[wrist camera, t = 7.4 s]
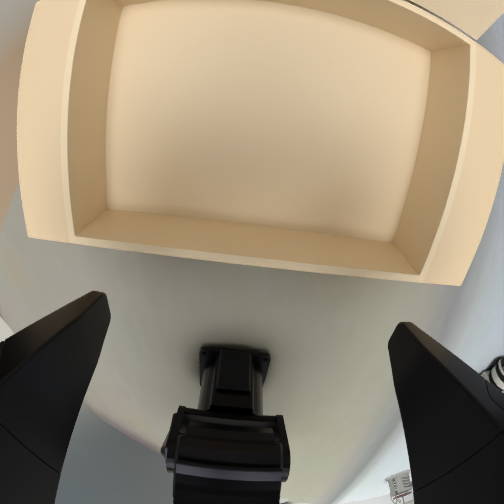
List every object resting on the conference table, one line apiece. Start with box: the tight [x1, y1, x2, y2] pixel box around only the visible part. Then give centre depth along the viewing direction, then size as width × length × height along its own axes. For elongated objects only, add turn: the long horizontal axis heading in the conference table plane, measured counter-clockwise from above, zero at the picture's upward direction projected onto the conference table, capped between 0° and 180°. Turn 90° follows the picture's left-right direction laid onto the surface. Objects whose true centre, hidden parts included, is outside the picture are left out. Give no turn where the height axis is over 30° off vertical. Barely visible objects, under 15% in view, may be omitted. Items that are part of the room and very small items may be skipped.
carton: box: [17, 0, 504, 286], centre depth 13 cm, size 16×30×5 cm, turn 83°
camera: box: [481, 358, 504, 393], centre depth 27 cm, size 16×9×10 cm, turn 80°
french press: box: [385, 470, 414, 504], centre depth 50 cm, size 10×12×25 cm
